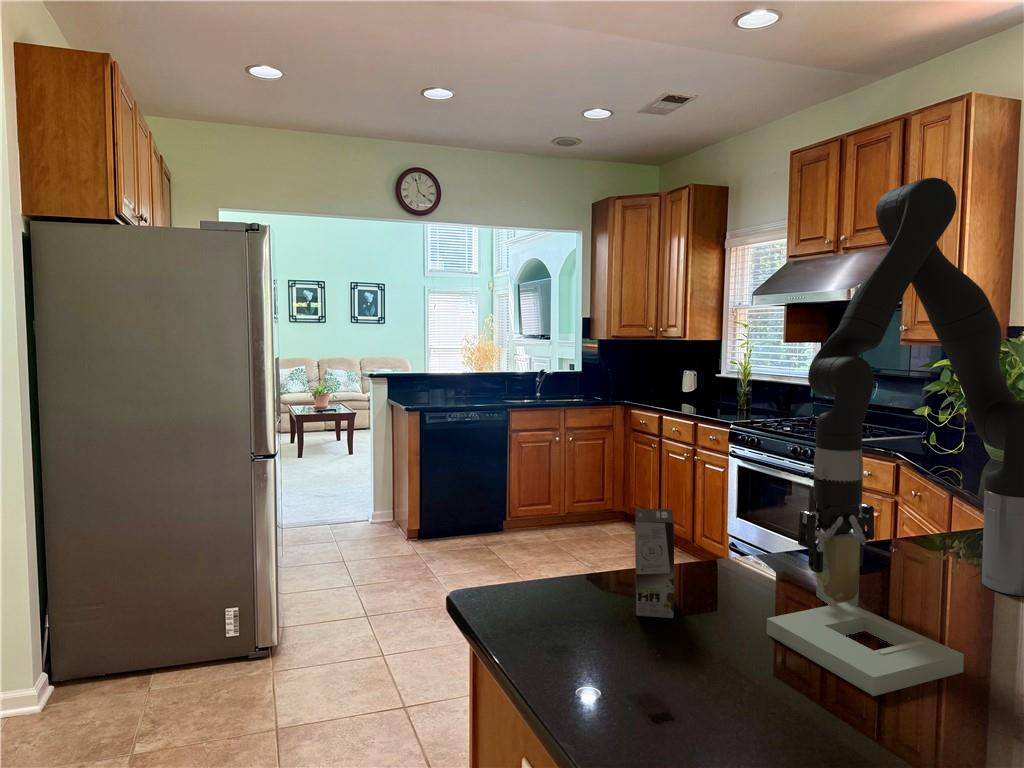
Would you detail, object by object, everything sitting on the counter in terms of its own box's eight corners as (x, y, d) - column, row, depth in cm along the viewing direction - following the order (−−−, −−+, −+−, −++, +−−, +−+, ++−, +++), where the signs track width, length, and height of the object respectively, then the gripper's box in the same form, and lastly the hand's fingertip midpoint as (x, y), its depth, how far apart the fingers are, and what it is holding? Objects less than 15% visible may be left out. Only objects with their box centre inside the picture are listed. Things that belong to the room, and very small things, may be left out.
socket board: (846, 616, 114) (847, 600, 114) (963, 672, 95) (963, 653, 95) (766, 633, 109) (766, 617, 108) (873, 696, 90) (873, 675, 90)
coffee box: (675, 618, 115) (674, 522, 114) (635, 616, 116) (634, 521, 115) (673, 597, 124) (673, 508, 123) (636, 595, 125) (635, 507, 124)
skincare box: (815, 596, 123) (815, 528, 122) (839, 595, 123) (839, 526, 122) (835, 611, 116) (836, 539, 116) (860, 609, 117) (861, 537, 116)
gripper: (853, 466, 124) (850, 556, 125) (788, 473, 119) (786, 566, 121) (888, 474, 117) (886, 569, 118) (821, 482, 112) (819, 581, 114)
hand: (836, 568), depth 119 cm, fingers open, 8 cm apart
